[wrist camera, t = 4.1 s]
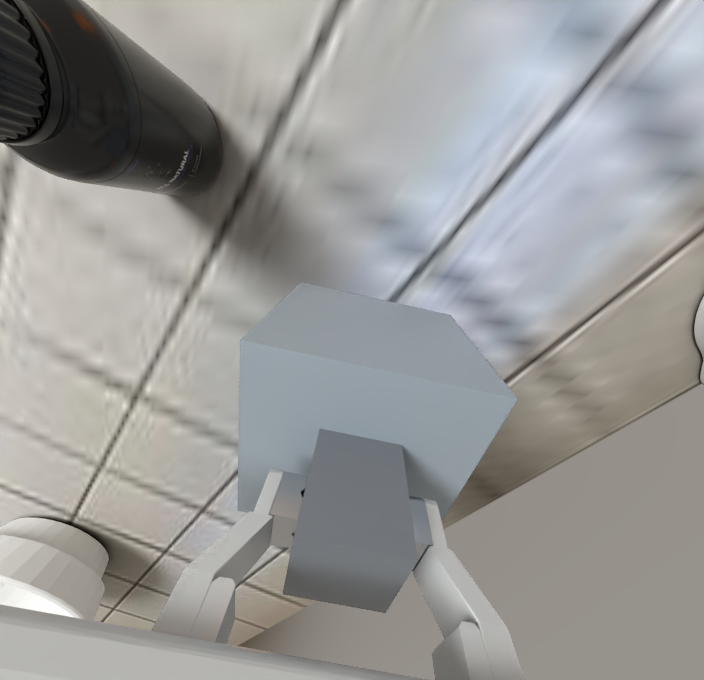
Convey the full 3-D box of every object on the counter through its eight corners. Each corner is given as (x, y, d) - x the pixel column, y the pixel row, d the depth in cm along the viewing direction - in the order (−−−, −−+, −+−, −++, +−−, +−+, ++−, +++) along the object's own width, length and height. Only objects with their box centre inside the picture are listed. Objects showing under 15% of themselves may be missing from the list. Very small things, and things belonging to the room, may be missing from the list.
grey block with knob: (450, 315, 17) (609, 512, 6) (405, 426, 22) (445, 662, 10) (300, 282, 17) (154, 421, 5) (286, 401, 21) (189, 617, 10)
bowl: (116, 589, 48) (70, 658, 41) (-20, 545, 43) (-101, 615, 36) (153, 536, 40) (104, 610, 33) (-10, 474, 35) (-112, 545, 27)
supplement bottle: (223, 208, 20) (56, 197, 9) (131, 181, 19) (-166, 134, 8) (229, 95, 17) (-7, -122, 6) (121, 59, 16) (-351, -252, 6)
